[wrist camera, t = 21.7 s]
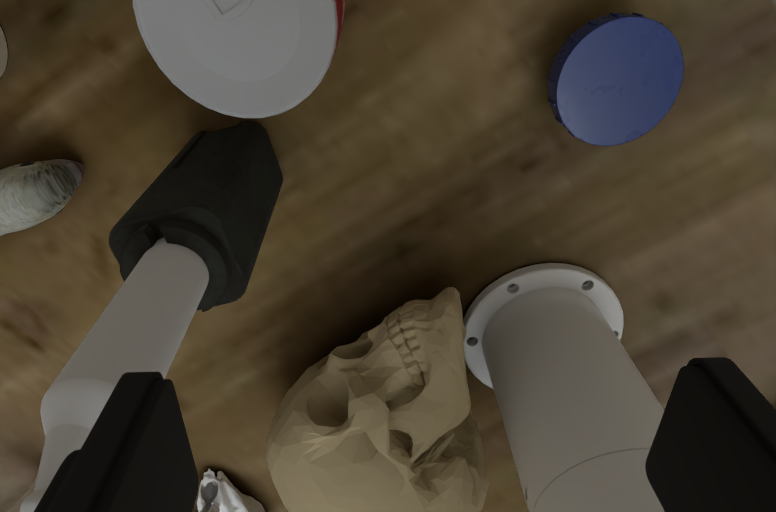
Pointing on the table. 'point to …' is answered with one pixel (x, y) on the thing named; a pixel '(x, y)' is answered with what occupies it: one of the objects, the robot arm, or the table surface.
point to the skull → (384, 421)
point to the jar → (3, 52)
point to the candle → (166, 276)
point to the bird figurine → (223, 496)
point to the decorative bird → (36, 192)
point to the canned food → (242, 49)
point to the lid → (615, 78)
